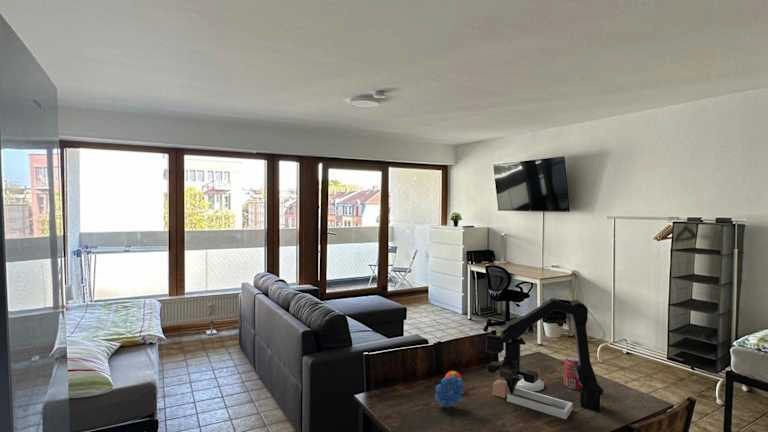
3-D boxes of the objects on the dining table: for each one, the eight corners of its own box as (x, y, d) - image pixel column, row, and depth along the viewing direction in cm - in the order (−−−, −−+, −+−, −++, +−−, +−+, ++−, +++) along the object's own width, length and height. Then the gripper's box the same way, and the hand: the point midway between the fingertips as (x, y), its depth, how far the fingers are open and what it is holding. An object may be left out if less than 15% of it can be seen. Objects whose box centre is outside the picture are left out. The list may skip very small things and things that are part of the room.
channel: (572, 409, 154) (572, 403, 154) (565, 419, 147) (565, 412, 147) (515, 393, 167) (515, 386, 167) (506, 401, 160) (507, 394, 160)
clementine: (461, 393, 166) (461, 376, 166) (443, 392, 168) (444, 374, 167) (461, 385, 174) (462, 368, 174) (445, 383, 175) (445, 367, 175)
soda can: (578, 383, 177) (579, 355, 177) (584, 390, 170) (585, 361, 170) (561, 382, 178) (561, 354, 178) (566, 389, 171) (567, 361, 171)
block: (509, 393, 167) (509, 382, 167) (504, 398, 163) (505, 386, 163) (497, 390, 170) (497, 379, 170) (492, 394, 166) (492, 383, 166)
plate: (548, 383, 177) (548, 380, 177) (537, 394, 166) (537, 392, 166) (516, 374, 186) (516, 372, 186) (504, 384, 175) (504, 382, 175)
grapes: (461, 401, 160) (462, 370, 160) (466, 409, 153) (467, 377, 153) (431, 402, 159) (432, 371, 158) (435, 410, 152) (436, 378, 152)
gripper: (481, 354, 163) (480, 393, 163) (529, 365, 151) (528, 408, 152) (493, 346, 171) (492, 384, 172) (539, 357, 160) (538, 397, 160)
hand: (511, 393), depth 164 cm, fingers closed
